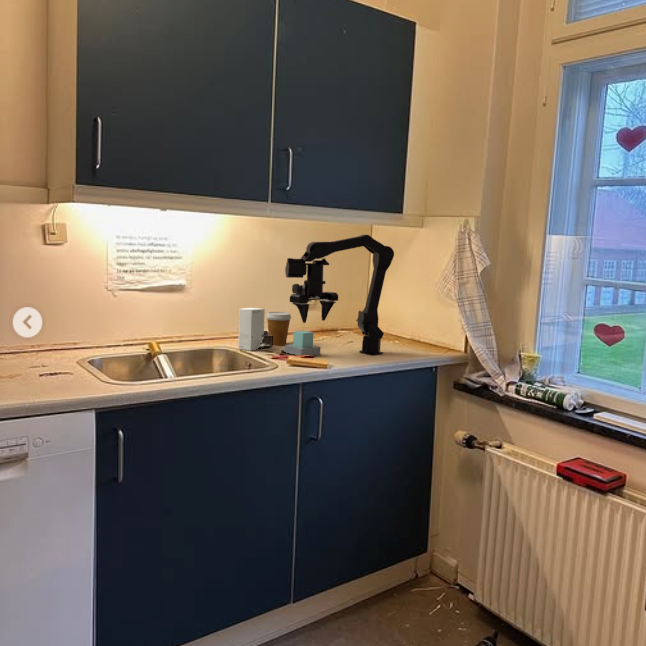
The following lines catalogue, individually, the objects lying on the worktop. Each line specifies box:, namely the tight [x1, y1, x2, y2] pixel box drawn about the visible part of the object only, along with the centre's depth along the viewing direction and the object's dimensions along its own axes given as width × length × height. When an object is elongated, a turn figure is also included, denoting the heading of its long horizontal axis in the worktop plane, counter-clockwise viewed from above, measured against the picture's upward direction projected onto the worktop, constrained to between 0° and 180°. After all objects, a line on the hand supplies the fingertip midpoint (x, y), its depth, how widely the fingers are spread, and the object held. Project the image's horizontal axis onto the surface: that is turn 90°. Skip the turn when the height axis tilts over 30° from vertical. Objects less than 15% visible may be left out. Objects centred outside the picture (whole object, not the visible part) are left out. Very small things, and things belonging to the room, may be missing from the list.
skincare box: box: [237, 307, 266, 352], centre depth 227 cm, size 8×6×15 cm
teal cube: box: [292, 330, 314, 348], centre depth 222 cm, size 5×5×5 cm
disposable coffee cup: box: [265, 311, 292, 347], centre depth 238 cm, size 10×10×12 cm
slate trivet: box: [283, 343, 321, 356], centre depth 223 cm, size 9×9×3 cm
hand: (313, 321), depth 224 cm, fingers open, 9 cm apart
